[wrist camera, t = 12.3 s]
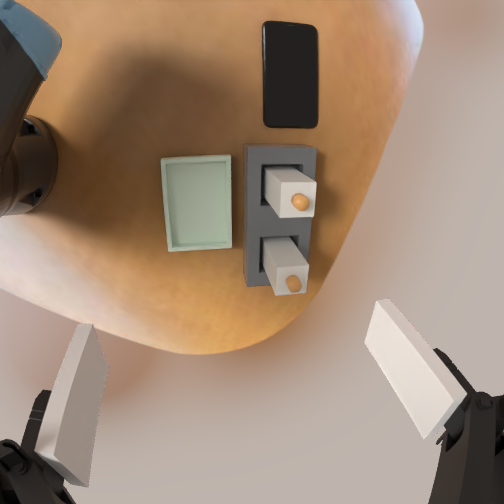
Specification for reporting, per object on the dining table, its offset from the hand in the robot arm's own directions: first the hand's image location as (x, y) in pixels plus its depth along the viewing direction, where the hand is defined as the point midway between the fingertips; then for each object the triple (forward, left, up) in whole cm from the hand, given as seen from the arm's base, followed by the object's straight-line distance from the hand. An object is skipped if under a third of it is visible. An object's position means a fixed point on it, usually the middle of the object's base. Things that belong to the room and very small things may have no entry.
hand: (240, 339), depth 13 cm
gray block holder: (+9, -5, -32) cm, 33 cm away
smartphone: (+11, +15, -32) cm, 37 cm away
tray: (-2, -3, -32) cm, 32 cm away
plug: (+9, -10, -31) cm, 33 cm away
